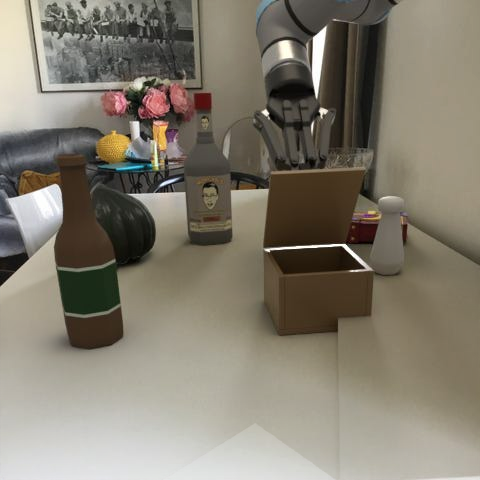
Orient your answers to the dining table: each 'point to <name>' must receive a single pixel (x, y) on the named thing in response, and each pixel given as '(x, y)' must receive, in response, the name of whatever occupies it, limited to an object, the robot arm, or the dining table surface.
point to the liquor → (207, 182)
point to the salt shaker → (388, 237)
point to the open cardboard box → (315, 287)
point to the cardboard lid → (311, 206)
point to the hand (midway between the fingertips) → (309, 206)
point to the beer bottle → (85, 263)
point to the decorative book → (370, 226)
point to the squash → (124, 223)
